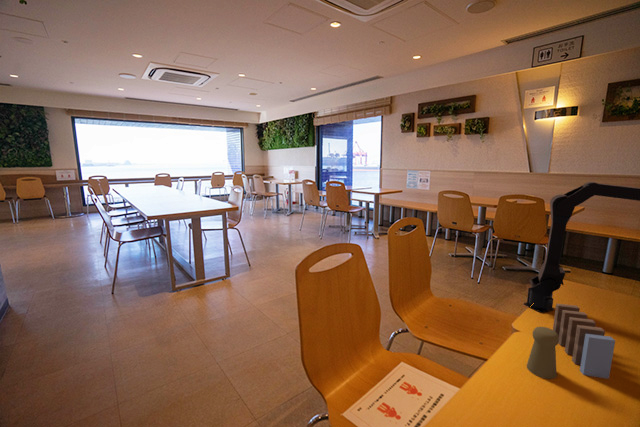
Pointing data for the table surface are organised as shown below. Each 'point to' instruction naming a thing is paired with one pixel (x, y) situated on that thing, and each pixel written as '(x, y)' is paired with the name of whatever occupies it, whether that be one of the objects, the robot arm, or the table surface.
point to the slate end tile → (597, 355)
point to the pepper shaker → (543, 353)
